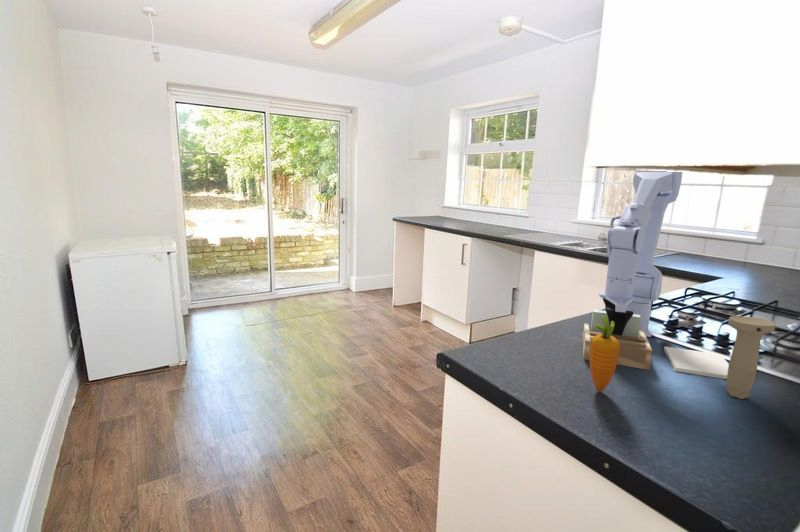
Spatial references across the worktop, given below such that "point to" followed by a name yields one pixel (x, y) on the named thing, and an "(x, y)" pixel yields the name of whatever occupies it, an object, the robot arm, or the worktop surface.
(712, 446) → the worktop surface
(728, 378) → the handle
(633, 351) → the rack
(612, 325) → the carrot
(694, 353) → the tile
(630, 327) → the sheet
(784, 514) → the worktop surface
